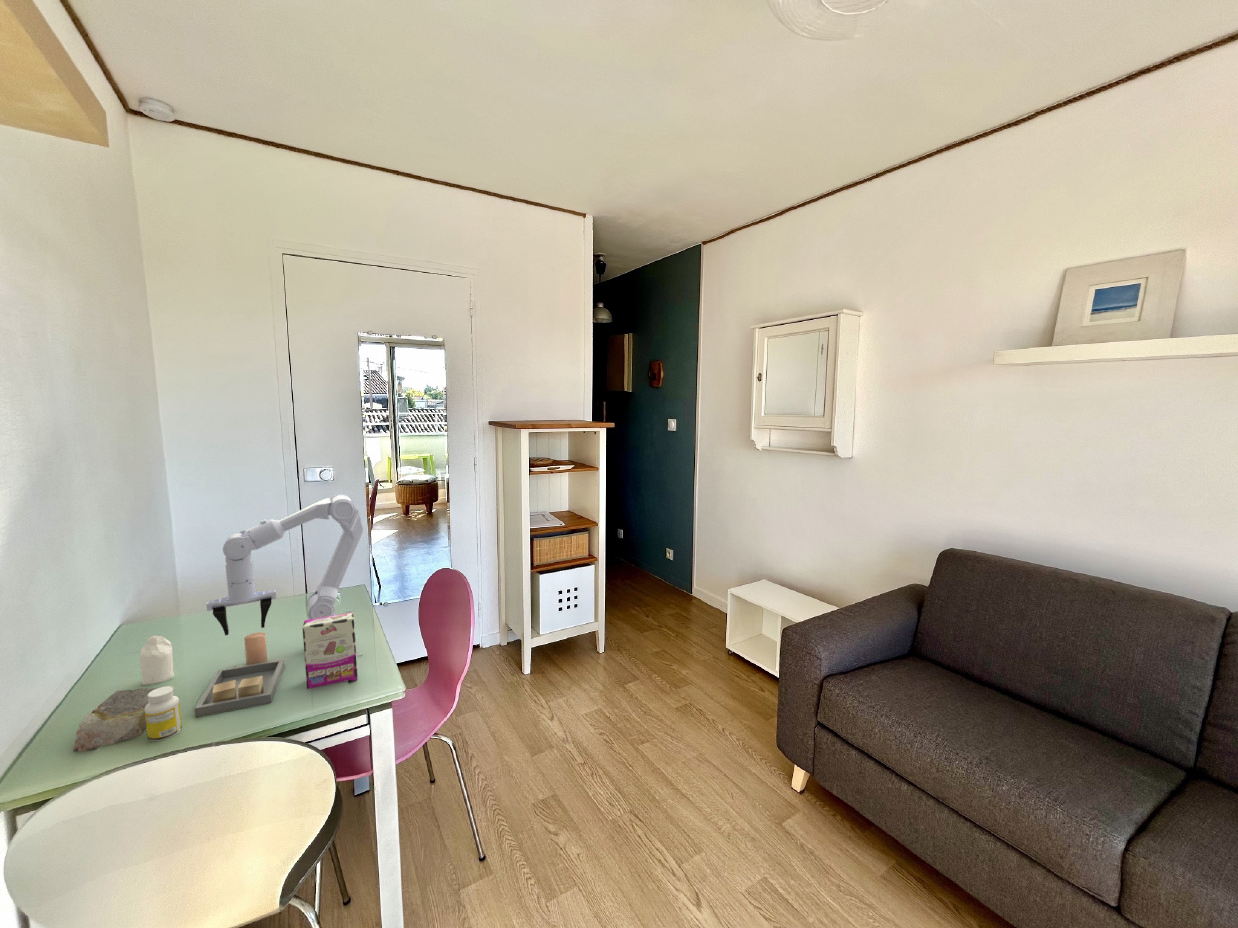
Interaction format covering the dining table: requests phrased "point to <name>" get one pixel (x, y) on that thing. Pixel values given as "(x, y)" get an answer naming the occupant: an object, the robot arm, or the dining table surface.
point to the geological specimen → (114, 720)
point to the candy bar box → (330, 650)
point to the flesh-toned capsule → (255, 648)
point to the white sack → (156, 660)
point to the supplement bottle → (162, 714)
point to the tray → (270, 682)
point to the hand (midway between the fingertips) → (245, 630)
